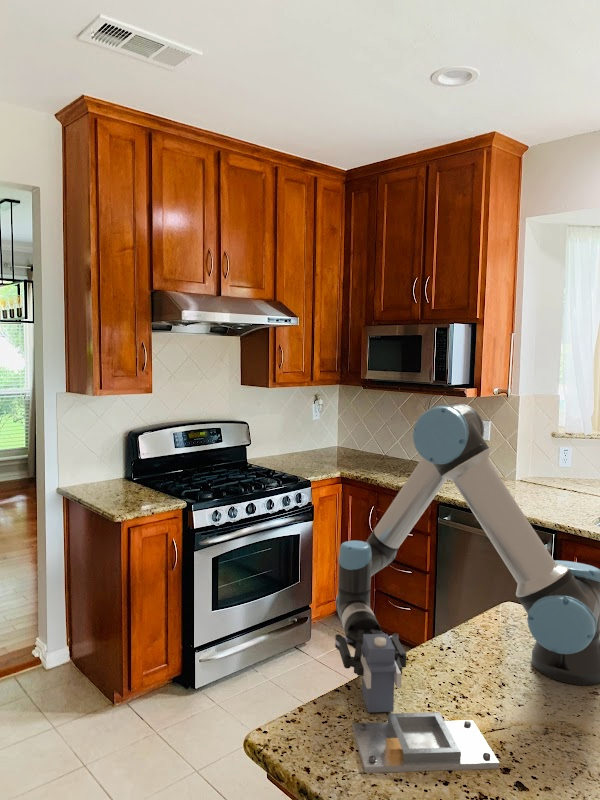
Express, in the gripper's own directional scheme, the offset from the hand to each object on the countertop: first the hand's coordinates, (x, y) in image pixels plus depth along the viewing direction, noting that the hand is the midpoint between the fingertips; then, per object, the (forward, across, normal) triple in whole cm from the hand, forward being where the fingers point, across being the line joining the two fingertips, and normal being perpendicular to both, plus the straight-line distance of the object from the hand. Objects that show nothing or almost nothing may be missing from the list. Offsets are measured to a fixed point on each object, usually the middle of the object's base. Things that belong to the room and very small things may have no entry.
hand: (384, 680), depth 113 cm
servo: (-5, 0, -7) cm, 9 cm away
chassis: (+8, -5, -8) cm, 12 cm away
